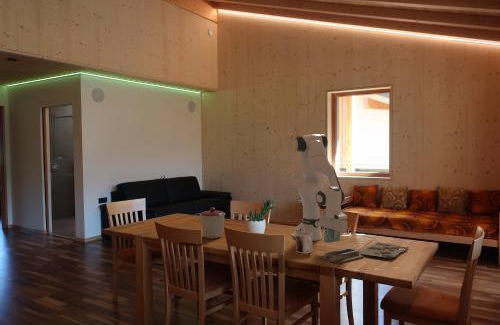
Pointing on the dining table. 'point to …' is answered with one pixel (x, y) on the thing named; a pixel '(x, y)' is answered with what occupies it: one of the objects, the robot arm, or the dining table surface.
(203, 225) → the canister
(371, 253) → the stone relief
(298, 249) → the mug
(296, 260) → the dining table surface
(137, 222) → the dining table surface
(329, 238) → the teal box
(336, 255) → the track sill
